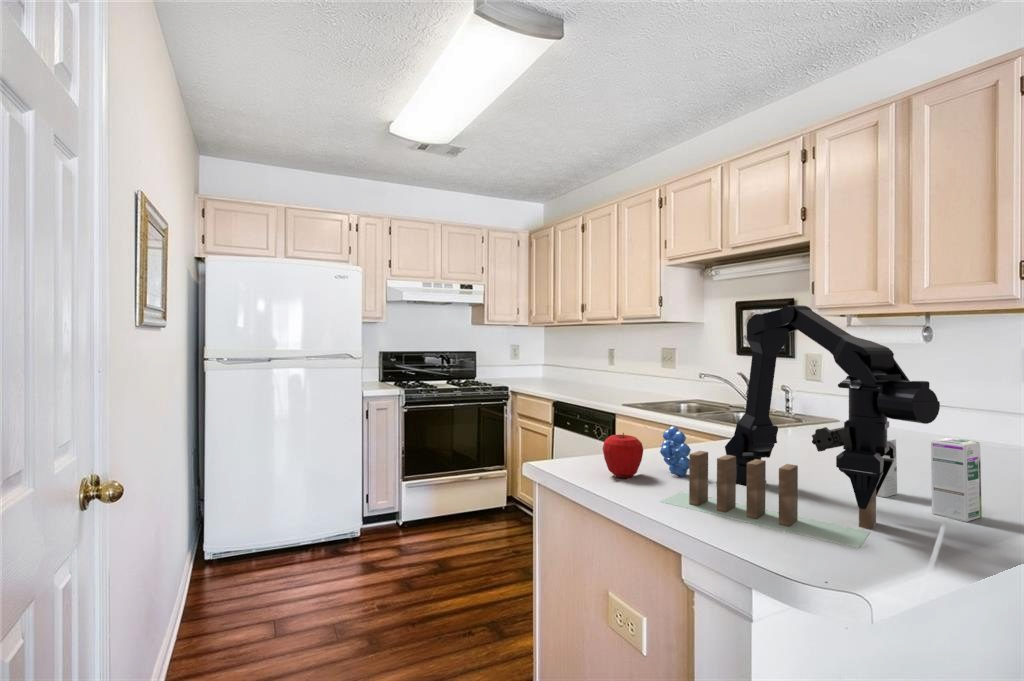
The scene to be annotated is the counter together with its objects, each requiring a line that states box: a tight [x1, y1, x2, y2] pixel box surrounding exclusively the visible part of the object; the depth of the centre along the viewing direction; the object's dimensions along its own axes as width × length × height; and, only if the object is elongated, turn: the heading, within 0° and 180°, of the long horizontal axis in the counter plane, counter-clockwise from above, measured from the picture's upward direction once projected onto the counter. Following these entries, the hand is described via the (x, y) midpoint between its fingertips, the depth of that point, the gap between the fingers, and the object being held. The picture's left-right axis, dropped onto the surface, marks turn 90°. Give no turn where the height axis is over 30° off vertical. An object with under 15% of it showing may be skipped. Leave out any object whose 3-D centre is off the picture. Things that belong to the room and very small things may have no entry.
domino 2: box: [716, 454, 737, 513], centre depth 100 cm, size 2×5×10 cm, turn 137°
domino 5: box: [858, 489, 877, 530], centre depth 92 cm, size 2×5×10 cm, turn 137°
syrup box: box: [930, 437, 983, 523], centre depth 99 cm, size 6×6×14 cm
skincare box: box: [876, 437, 898, 498], centre depth 114 cm, size 6×4×12 cm
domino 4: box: [778, 463, 799, 527], centre depth 93 cm, size 2×5×10 cm, turn 137°
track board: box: [659, 491, 871, 549], centre depth 97 cm, size 10×34×1 cm, turn 47°
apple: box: [602, 432, 644, 479], centre depth 126 cm, size 10×10×11 cm
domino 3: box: [746, 459, 767, 520], centre depth 97 cm, size 2×5×10 cm, turn 137°
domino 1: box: [688, 450, 709, 506], centre depth 104 cm, size 2×5×10 cm, turn 137°
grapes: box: [659, 425, 692, 477], centre depth 128 cm, size 12×7×12 cm, turn 11°
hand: (867, 502), depth 92 cm, fingers open, 9 cm apart
